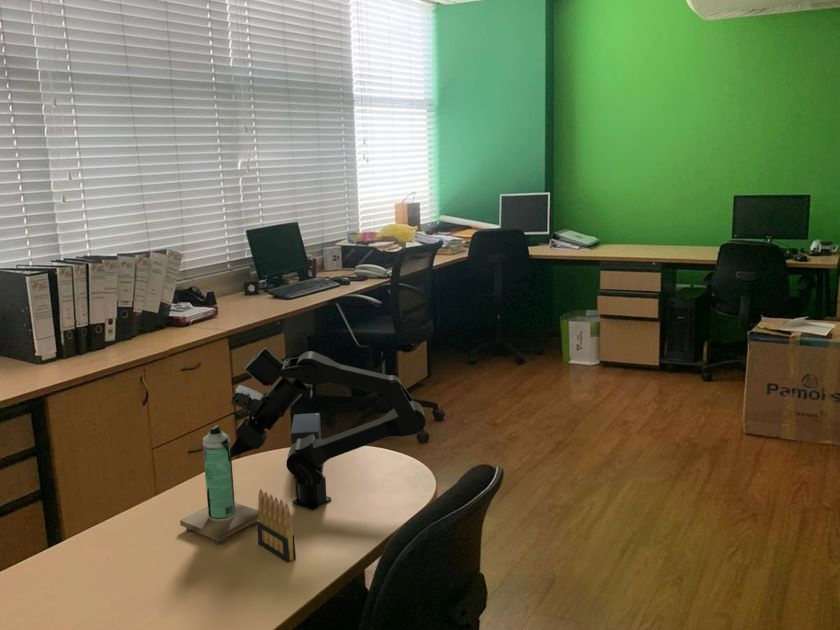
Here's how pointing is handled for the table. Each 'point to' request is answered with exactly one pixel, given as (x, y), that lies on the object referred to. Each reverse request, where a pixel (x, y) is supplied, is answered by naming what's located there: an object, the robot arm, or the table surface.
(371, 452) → the table surface
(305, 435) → the small box
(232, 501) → the spray can
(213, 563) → the table surface
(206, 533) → the flat square brown plate
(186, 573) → the table surface
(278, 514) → the ammunition clip
